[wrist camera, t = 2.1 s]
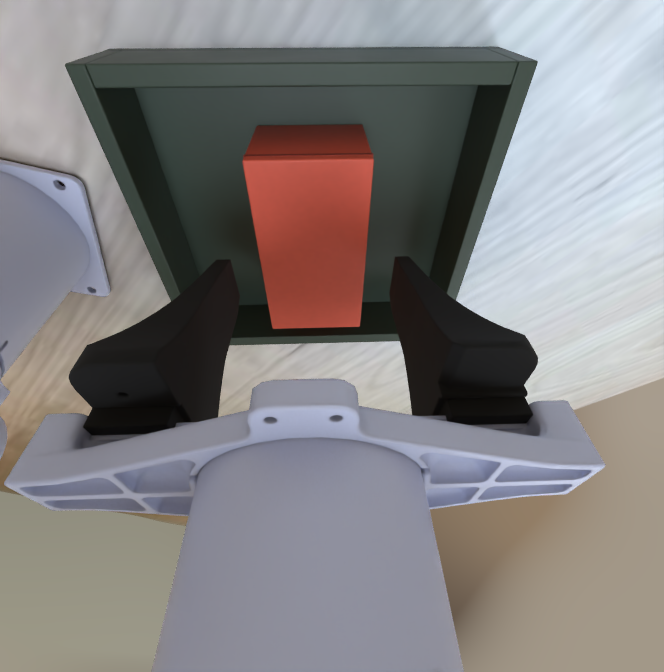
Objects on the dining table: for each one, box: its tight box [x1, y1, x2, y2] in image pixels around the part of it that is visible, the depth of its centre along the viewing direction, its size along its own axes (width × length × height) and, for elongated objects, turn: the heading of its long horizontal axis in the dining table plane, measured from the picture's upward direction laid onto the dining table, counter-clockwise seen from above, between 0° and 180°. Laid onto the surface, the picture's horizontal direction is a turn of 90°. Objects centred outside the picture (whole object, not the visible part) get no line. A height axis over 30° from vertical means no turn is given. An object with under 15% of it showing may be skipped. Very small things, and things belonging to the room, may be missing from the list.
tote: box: [65, 47, 538, 345], centre depth 18 cm, size 16×14×4 cm
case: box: [242, 125, 374, 329], centre depth 18 cm, size 5×9×4 cm, turn 0°
